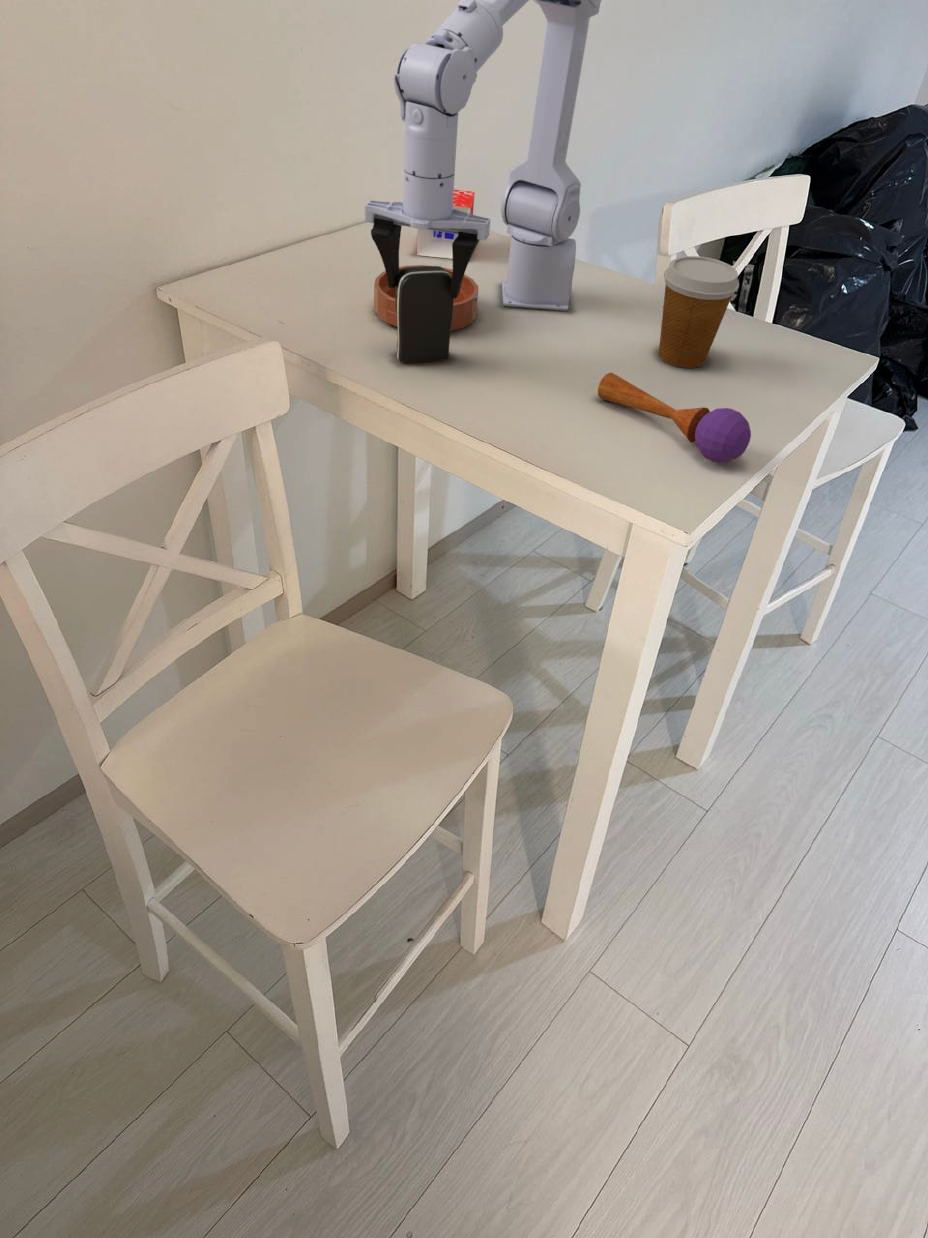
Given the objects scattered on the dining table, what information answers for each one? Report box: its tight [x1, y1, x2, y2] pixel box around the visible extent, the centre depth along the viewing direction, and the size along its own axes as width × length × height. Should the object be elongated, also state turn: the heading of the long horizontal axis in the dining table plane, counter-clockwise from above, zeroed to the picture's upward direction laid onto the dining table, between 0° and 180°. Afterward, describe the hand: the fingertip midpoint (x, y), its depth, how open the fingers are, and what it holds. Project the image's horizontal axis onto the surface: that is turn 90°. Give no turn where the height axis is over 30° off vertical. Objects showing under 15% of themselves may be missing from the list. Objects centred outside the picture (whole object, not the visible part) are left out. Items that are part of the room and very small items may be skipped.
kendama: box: [597, 372, 752, 463], centre depth 106 cm, size 6×6×20 cm
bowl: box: [373, 264, 479, 332], centre depth 126 cm, size 14×14×4 cm
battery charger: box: [395, 265, 454, 363], centre depth 113 cm, size 7×4×11 cm, turn 107°
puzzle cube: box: [416, 189, 476, 260], centre depth 143 cm, size 8×8×8 cm
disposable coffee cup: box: [658, 255, 740, 369], centre depth 118 cm, size 10×10×12 cm
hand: (424, 289), depth 111 cm, fingers open, 7 cm apart
